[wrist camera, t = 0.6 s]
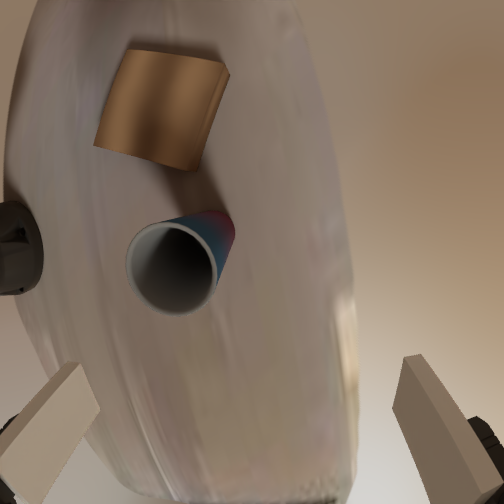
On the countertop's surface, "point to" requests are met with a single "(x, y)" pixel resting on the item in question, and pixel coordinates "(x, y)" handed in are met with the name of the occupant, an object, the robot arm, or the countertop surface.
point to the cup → (179, 261)
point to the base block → (162, 107)
